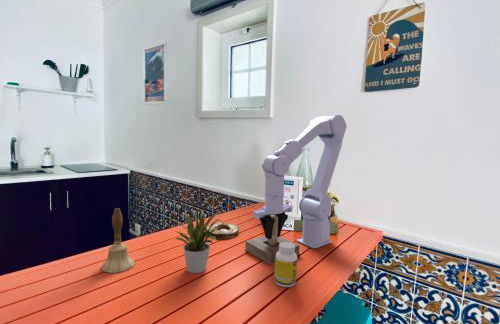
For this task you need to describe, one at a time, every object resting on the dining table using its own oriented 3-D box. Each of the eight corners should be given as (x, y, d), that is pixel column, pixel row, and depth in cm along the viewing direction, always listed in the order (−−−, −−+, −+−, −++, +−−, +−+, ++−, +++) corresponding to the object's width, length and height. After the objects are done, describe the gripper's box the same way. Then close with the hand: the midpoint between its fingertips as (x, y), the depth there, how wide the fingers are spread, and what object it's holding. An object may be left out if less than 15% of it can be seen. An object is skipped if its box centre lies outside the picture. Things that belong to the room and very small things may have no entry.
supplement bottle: (295, 289, 67) (297, 250, 66) (273, 286, 68) (274, 247, 67) (296, 278, 72) (298, 241, 71) (275, 275, 73) (277, 239, 72)
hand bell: (95, 266, 75) (93, 209, 74) (125, 256, 82) (124, 203, 80) (110, 276, 70) (109, 215, 69) (140, 265, 77) (140, 208, 75)
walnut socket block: (273, 241, 96) (273, 233, 96) (299, 254, 86) (299, 245, 86) (245, 250, 89) (245, 240, 88) (270, 264, 79) (270, 254, 79)
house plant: (235, 262, 80) (236, 206, 78) (213, 286, 67) (215, 221, 65) (192, 253, 85) (192, 201, 83) (163, 275, 72) (163, 213, 70)
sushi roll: (193, 233, 103) (193, 222, 102) (223, 224, 114) (223, 214, 113) (220, 245, 93) (221, 233, 92) (250, 234, 104) (250, 223, 104)
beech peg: (272, 245, 89) (273, 214, 88) (278, 248, 87) (280, 217, 86) (265, 247, 88) (266, 216, 87) (271, 250, 85) (273, 218, 84)
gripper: (282, 189, 93) (280, 229, 95) (247, 194, 84) (246, 237, 86) (297, 193, 88) (295, 235, 89) (262, 199, 79) (260, 245, 80)
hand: (272, 237), depth 87 cm, fingers closed on beech peg, 3 cm apart
